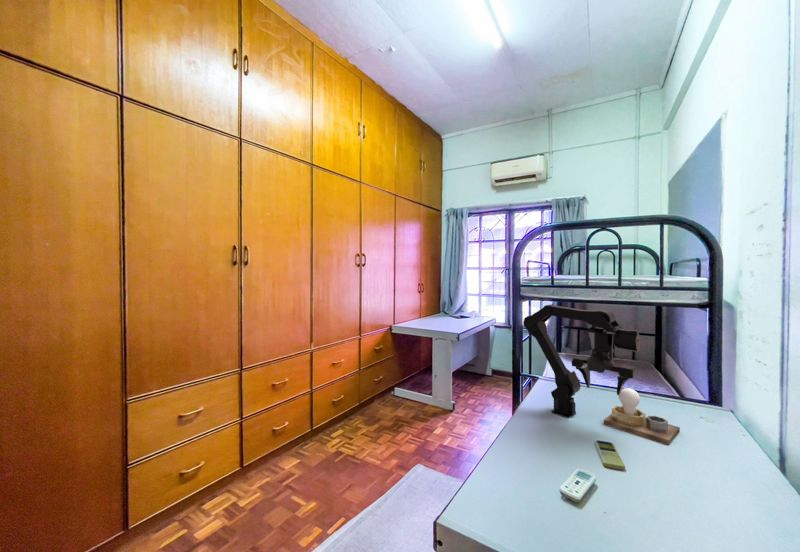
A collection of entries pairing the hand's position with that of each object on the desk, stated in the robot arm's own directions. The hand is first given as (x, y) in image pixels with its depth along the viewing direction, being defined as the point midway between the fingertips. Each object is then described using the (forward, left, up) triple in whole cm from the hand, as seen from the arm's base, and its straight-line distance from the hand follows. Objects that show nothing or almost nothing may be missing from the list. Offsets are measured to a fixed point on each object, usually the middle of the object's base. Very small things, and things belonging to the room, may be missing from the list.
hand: (602, 391), depth 112 cm
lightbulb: (+6, +7, -11) cm, 14 cm away
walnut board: (+9, +7, -12) cm, 16 cm away
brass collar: (+5, +7, -10) cm, 14 cm away
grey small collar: (+13, +7, -10) cm, 18 cm away
